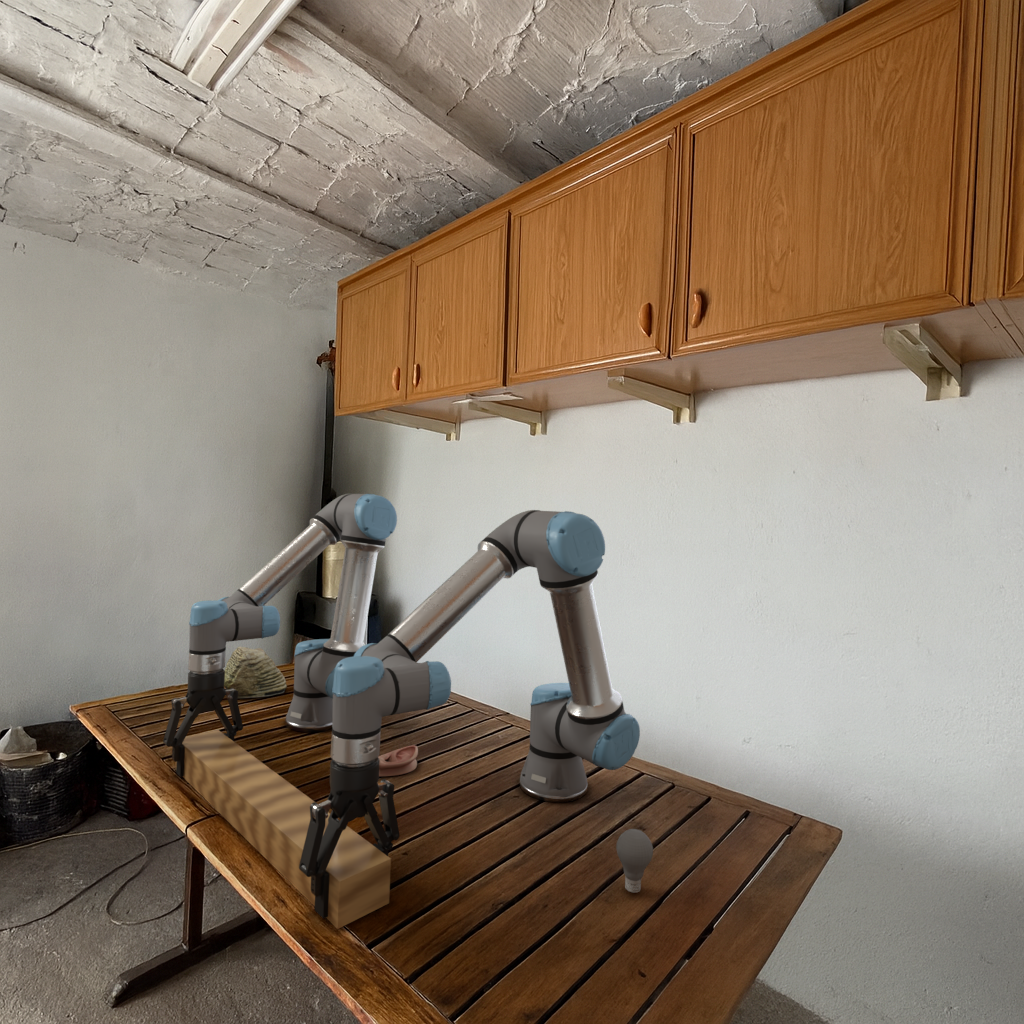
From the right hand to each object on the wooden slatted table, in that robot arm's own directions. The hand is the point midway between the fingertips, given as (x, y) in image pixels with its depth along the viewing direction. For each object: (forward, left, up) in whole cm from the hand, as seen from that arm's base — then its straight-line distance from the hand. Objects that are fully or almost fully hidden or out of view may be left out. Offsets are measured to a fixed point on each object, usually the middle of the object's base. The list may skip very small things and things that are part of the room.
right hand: (349, 899), depth 100 cm
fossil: (-42, -105, 0) cm, 113 cm away
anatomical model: (-36, -34, 0) cm, 50 cm away
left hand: (-7, -62, 0) cm, 63 cm away
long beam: (-3, -31, 0) cm, 31 cm away
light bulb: (-33, +32, 0) cm, 46 cm away
